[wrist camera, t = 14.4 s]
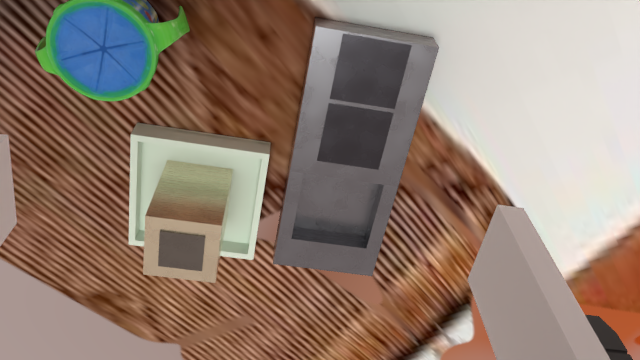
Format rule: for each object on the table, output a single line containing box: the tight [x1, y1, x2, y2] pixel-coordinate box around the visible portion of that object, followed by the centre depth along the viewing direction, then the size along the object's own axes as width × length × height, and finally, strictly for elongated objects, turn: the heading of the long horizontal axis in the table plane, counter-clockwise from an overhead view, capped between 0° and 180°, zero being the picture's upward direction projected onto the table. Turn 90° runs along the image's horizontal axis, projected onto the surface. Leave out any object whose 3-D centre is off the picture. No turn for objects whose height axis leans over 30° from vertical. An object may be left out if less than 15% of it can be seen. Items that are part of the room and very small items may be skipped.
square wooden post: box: [143, 160, 233, 283], centre depth 52 cm, size 6×6×9 cm
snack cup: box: [35, 0, 190, 101], centre depth 45 cm, size 11×8×7 cm
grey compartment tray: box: [273, 17, 439, 276], centre depth 54 cm, size 10×24×3 cm, turn 170°
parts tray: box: [129, 123, 271, 260], centre depth 55 cm, size 12×12×2 cm
